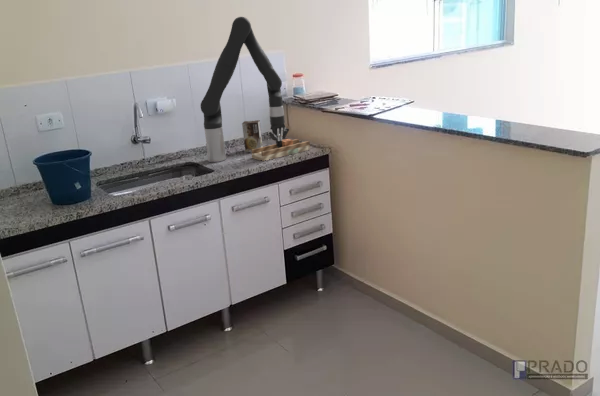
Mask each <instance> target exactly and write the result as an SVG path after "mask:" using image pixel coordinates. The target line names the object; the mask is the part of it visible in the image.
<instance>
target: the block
mask: <svg viewBox="0 0 600 396" xmlns="http://www.w3.org/2000/svg"><path fill="white" fill-rule="evenodd" d="M293 140H294V139H290V138H285V139H282V147H285V146H289V145H293Z"/></svg>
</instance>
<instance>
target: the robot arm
mask: <svg viewBox="0 0 600 396" xmlns="http://www.w3.org/2000/svg"><path fill="white" fill-rule="evenodd" d="M243 45H244V46H245V47H246V50H247V51H248V52H249V55H250V56H251V59H252V61H253V62H254V65H255V67H257V69H258V72H260V75H262V77H264V80H265V81H266V88H267V94H268V106H269V108H268V109H269V112H268V113H269V122H270V129H269V130H268V131H267V132H266V133H267V135H268V136H269V137H270V138H271V140H273V141H275V144H276V146H277V148H281V147H282V140H284V139H286V136H287V134H288V133H289V131H290V129H289V128H288V127H286V125H285V110H284V104H283V96H282V92H281V89H282V88H281V87H282V85H283V83H282V79H281V78H280V77H281V76H280V75H279V74H278V73H277V71H276V70H275V68H274V66H273V64H272V63H271V60H270V59H269V57H268V56H267V54H266V52H265V51H264V49H263V48H262V46H261V45H260V43H259V42H258V40H257V38H256V35H255V34H254V31H253V28H252V24H251V21H250V20H249V19H248V18H247V17H245V16H238V17H236V18H235V19H234V20H233V22H232V24H231V28H230V33H229V37H228V39H227V42H226V44H225V46H224V48H223V49H222V51H221V53H220V54H219V55H220V56H219V57H218V60H217V63H216V64H215V67H214V71H213V73H212V76H211V80H210V83H209V86H208V88H207V91H206V93H205V95H204V96H203V99H202V100H201V102H200V111H201V113H202V114H203V128H204V135H205V136H204V137H205V145H206V146H205V147H206V154H207V160H208V162H209V163H210V162H211V163H214V162H215V163H217V162H223V161H225V160H227V153H226V147H225V138H224V132H223V130H224V129H223V117H222V116H223V115H222V106H221V99H222V95H223V93H224V91H225V90H226V88H227V86H228V84H229V83H230V81H231V79H232V77H233V75H234V74H235V73H234V72H235V70H236V67H237V65H238V61H239V58H240V53H241V50H242V48H243Z"/></svg>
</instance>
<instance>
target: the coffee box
mask: <svg viewBox="0 0 600 396" xmlns="http://www.w3.org/2000/svg"><path fill="white" fill-rule="evenodd" d="M241 125H242V135H243V140H244V141H243V142H244V143H243V144H244V150H245V153H249V152H251V153H252V151H251V150H252V149H256V148H260V147H264V146H263V138H262V129H261V120H259V119H258V120H256V119H255V120H244V121H243V122H242V123H241Z"/></svg>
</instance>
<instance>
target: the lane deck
mask: <svg viewBox="0 0 600 396" xmlns="http://www.w3.org/2000/svg"><path fill="white" fill-rule="evenodd" d="M292 140H293V145H289V146H285V147H281V148H277V146H276V143H274V144H270V145H266V146H263V147H260V148H256V149H252V150H251V151H252V152H251V157H252V159H255V160H258V161H261V160H262V162H266V161H269V159H270V160H274V159H278V158H281V157H286V156H290V155H293V153H294V154H299V153H303V152H305V151H306V152H307V151H310V150H311V142H310V140H306V141H302V142H300V139H299V138H296V139H292ZM273 158H274V159H273ZM265 160H266V161H265Z"/></svg>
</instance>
